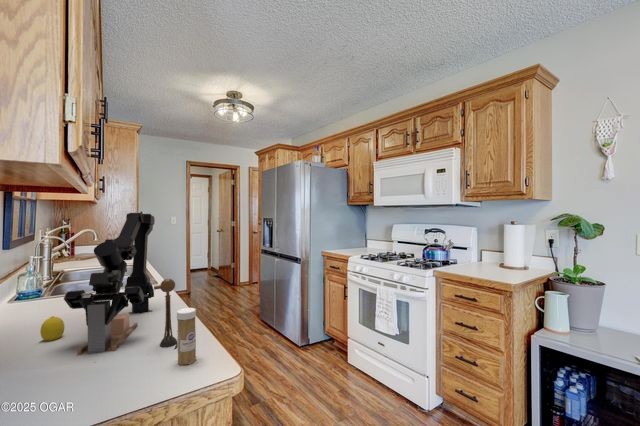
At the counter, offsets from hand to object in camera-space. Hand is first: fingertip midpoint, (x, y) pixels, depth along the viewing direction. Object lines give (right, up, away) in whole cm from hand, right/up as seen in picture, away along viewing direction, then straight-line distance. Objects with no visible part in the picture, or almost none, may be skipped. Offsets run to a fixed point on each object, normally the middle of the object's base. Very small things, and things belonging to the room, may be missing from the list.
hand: (97, 324), depth 83 cm
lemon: (-21, -9, +10) cm, 25 cm away
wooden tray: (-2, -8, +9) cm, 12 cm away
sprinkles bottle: (+26, -8, -4) cm, 28 cm away
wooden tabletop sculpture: (+17, -8, +4) cm, 19 cm away
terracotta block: (-4, -7, +14) cm, 16 cm away
